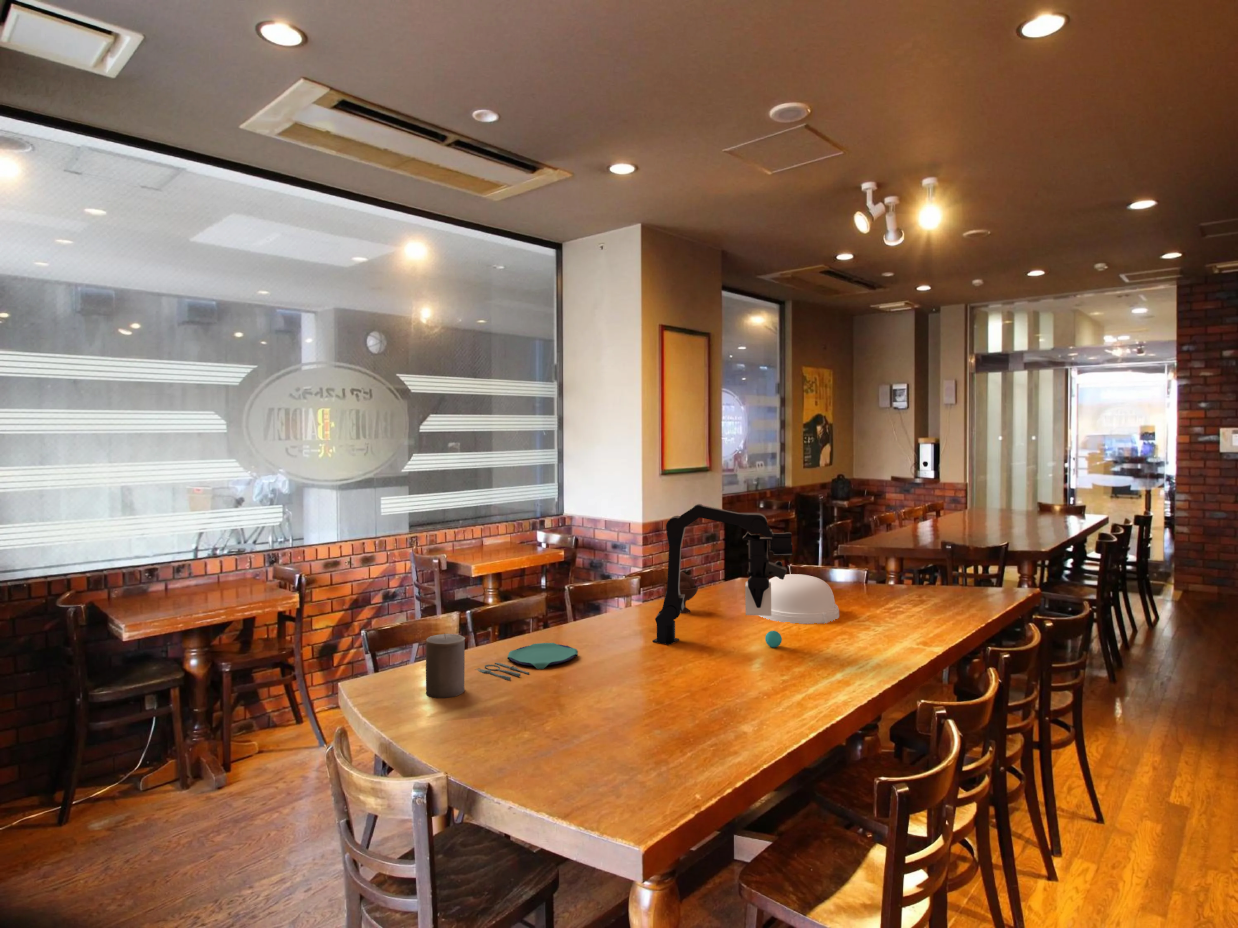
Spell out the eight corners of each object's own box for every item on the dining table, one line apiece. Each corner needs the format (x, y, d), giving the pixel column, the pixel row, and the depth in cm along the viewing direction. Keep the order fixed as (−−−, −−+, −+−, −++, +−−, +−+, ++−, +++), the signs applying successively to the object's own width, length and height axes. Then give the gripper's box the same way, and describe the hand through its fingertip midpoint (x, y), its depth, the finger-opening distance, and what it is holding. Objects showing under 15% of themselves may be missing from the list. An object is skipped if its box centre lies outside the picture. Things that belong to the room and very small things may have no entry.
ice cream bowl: (688, 616, 264) (688, 575, 263) (662, 612, 270) (662, 571, 270) (703, 611, 272) (703, 571, 271) (678, 606, 279) (678, 567, 278)
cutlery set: (590, 657, 215) (590, 650, 215) (511, 685, 193) (511, 676, 193) (545, 646, 229) (545, 638, 229) (466, 670, 207) (466, 662, 206)
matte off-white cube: (745, 615, 223) (745, 586, 223) (746, 609, 230) (745, 581, 230) (771, 615, 221) (771, 586, 221) (771, 609, 229) (770, 581, 229)
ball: (770, 632, 222) (767, 648, 223) (785, 634, 223) (782, 650, 224) (764, 627, 227) (761, 643, 227) (779, 629, 228) (776, 644, 228)
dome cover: (737, 609, 276) (737, 572, 276) (800, 601, 289) (801, 566, 289) (791, 629, 248) (792, 587, 247) (859, 619, 260) (859, 580, 260)
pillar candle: (425, 699, 181) (426, 639, 180) (425, 686, 190) (425, 629, 189) (466, 696, 183) (466, 637, 183) (463, 683, 193) (463, 627, 192)
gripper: (786, 559, 215) (786, 612, 215) (784, 550, 233) (784, 598, 233) (747, 559, 217) (748, 611, 217) (748, 549, 235) (749, 597, 236)
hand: (758, 604), depth 226 cm, fingers closed on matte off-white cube, 8 cm apart
